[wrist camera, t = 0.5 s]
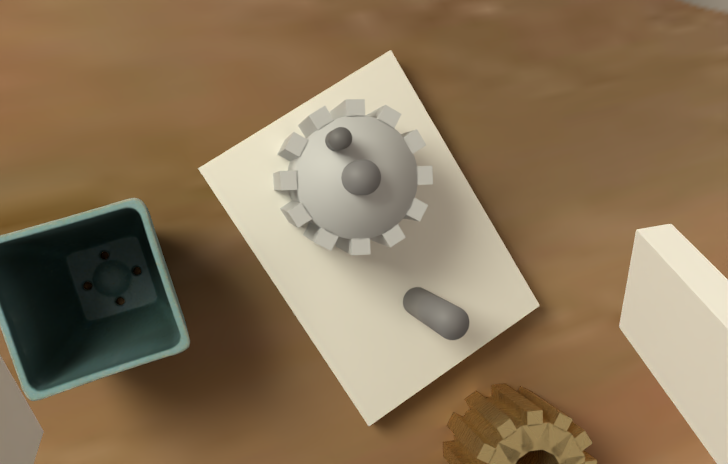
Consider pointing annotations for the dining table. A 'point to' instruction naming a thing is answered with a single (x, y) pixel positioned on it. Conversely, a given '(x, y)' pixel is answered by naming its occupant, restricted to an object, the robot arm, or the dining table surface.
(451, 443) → the brass gear
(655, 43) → the dining table surface
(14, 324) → the flower pot
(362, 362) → the gear board
